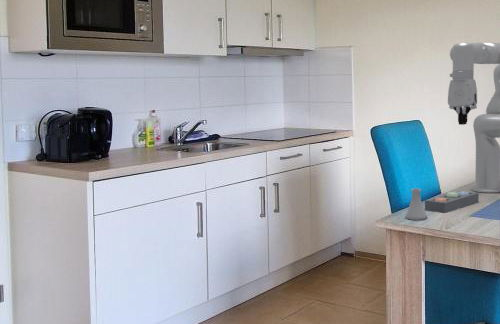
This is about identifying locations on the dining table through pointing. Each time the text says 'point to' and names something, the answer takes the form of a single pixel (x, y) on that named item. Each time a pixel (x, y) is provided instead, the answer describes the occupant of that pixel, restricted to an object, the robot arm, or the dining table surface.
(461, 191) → the slate button
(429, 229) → the dining table surface
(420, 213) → the flask
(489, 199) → the dining table surface
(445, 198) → the terracotta button
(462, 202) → the console
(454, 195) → the sage button
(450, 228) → the dining table surface
